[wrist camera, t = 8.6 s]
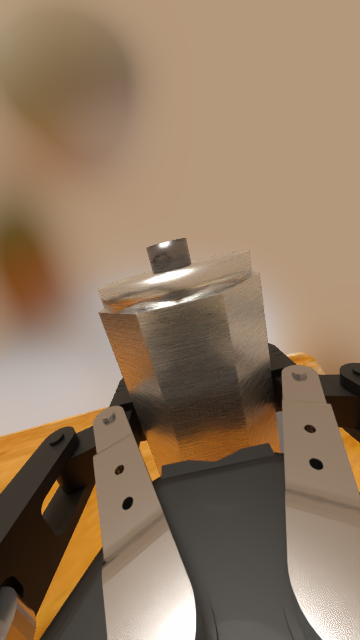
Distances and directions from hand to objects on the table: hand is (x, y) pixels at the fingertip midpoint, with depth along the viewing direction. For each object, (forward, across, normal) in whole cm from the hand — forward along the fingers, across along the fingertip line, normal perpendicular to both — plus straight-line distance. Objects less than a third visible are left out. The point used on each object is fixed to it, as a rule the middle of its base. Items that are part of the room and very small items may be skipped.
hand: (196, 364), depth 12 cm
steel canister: (-2, 0, +8) cm, 8 cm away
